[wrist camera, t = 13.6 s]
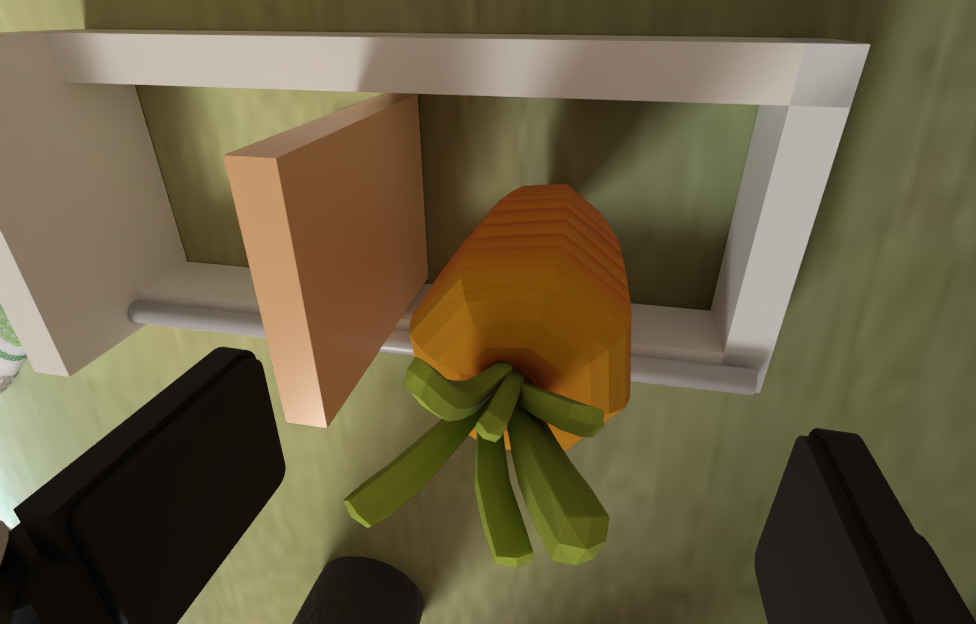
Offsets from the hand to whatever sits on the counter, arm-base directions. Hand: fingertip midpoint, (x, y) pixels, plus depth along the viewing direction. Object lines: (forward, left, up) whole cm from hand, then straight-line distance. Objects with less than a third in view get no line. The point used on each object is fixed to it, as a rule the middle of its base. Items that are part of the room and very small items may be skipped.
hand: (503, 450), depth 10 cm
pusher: (+7, -1, -12) cm, 14 cm away
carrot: (0, 0, -13) cm, 13 cm away
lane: (+5, -1, -13) cm, 14 cm away
